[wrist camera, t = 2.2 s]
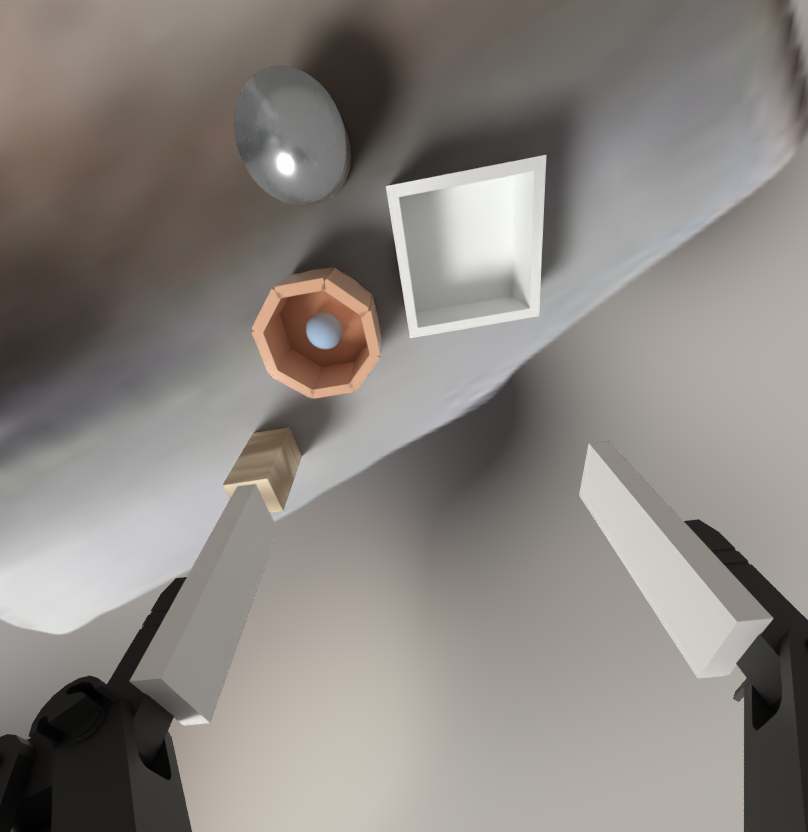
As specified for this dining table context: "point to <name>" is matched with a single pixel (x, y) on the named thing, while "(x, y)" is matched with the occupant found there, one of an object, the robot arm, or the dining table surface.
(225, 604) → the robot arm
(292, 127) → the tin
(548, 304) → the dining table surface
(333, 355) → the terracotta cup
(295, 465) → the block
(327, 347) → the ball
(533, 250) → the tray white
